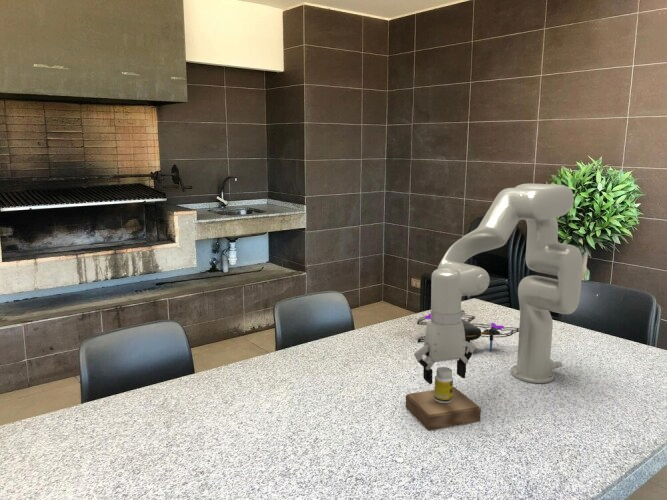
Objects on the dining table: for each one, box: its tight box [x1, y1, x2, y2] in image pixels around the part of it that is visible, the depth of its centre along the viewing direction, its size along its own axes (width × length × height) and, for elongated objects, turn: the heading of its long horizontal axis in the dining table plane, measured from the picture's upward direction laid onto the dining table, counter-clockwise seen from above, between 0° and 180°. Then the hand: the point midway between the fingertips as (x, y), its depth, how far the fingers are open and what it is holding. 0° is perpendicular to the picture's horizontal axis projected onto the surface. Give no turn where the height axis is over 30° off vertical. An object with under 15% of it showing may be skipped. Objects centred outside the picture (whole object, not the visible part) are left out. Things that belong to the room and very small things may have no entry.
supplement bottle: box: [433, 366, 454, 403], centre depth 137 cm, size 5×5×8 cm
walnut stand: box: [405, 386, 482, 431], centre depth 138 cm, size 15×13×4 cm
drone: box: [416, 312, 519, 352], centre depth 189 cm, size 40×10×28 cm
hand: (444, 379), depth 137 cm, fingers open, 9 cm apart
